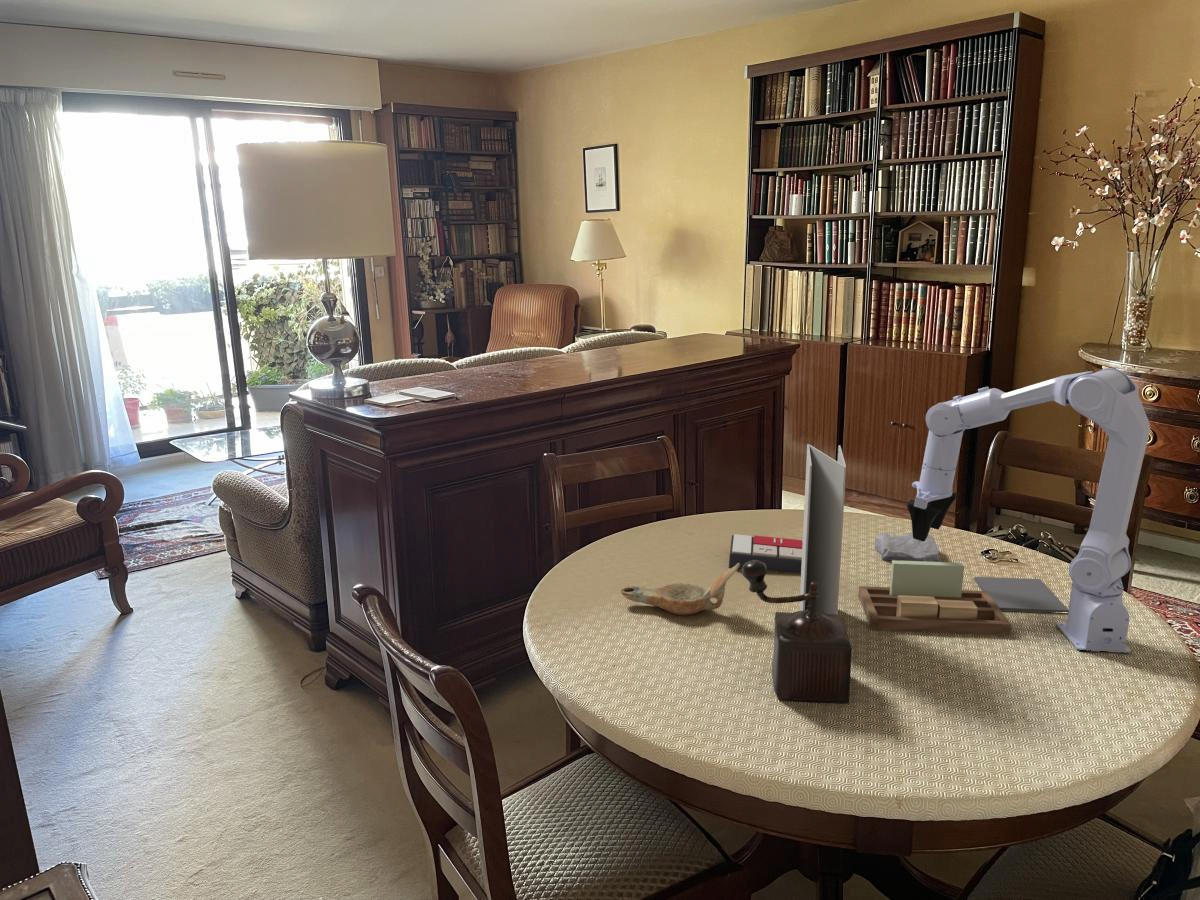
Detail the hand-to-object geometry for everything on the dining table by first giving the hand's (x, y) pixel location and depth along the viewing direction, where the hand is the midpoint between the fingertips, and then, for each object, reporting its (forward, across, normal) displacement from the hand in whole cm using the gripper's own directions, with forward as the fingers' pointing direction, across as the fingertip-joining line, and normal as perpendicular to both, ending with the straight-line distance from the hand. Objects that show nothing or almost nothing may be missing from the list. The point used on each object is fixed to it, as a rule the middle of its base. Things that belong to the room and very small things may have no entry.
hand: (926, 533), depth 160 cm
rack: (+10, +12, +7) cm, 17 cm away
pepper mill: (+10, +48, -2) cm, 49 cm away
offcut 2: (+9, +14, +11) cm, 20 cm away
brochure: (+11, +27, -8) cm, 30 cm away
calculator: (+14, +7, -28) cm, 32 cm away
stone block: (+12, -13, -6) cm, 19 cm away
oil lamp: (+13, +37, -30) cm, 49 cm away
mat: (+9, -6, +17) cm, 20 cm away
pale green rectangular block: (+10, +8, +4) cm, 14 cm away
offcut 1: (+10, +17, +6) cm, 20 cm away
